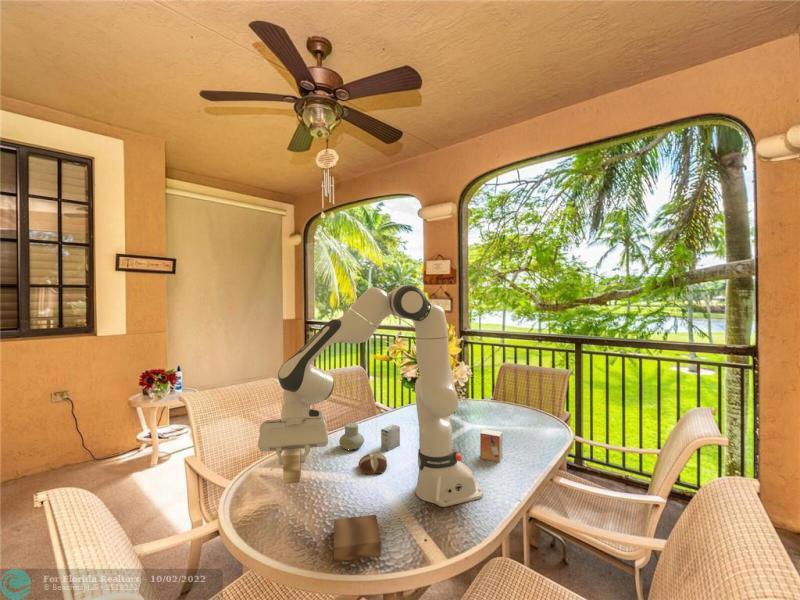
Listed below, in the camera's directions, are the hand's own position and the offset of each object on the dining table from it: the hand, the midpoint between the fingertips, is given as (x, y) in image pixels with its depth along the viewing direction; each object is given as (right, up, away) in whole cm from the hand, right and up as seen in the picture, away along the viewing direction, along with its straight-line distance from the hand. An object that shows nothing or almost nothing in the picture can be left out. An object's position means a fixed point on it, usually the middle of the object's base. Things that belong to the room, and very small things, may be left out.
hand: (292, 463), depth 106 cm
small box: (+68, -18, +45) cm, 84 cm away
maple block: (0, -5, 0) cm, 5 cm away
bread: (+20, -19, +38) cm, 47 cm away
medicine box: (+27, -18, +57) cm, 66 cm away
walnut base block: (+19, -19, -6) cm, 28 cm away
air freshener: (+10, -19, +57) cm, 61 cm away
